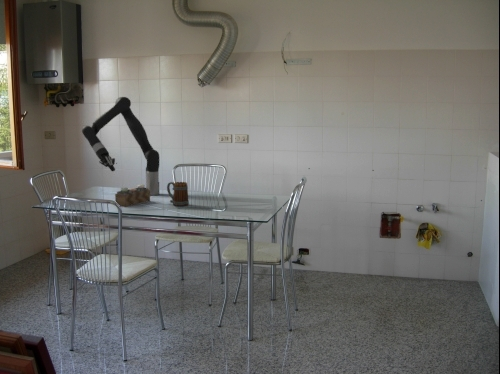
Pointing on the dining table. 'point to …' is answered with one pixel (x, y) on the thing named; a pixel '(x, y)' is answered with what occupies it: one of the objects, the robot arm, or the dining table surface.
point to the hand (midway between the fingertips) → (113, 170)
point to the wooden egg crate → (132, 197)
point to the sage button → (124, 189)
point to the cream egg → (141, 186)
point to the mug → (179, 194)
